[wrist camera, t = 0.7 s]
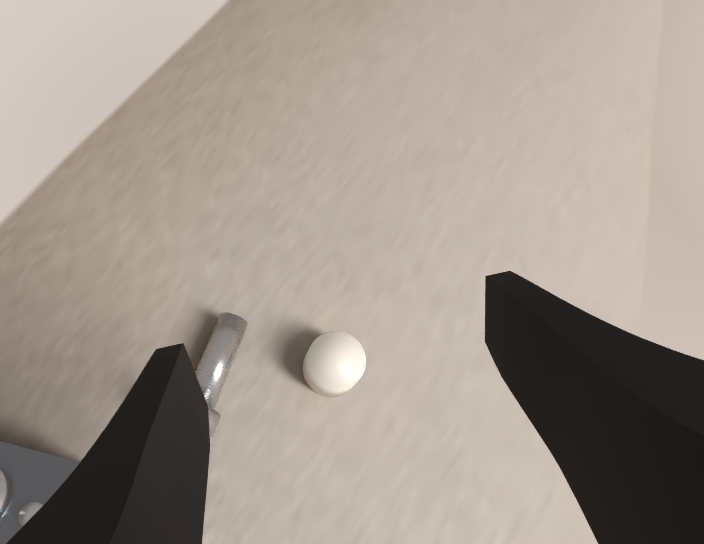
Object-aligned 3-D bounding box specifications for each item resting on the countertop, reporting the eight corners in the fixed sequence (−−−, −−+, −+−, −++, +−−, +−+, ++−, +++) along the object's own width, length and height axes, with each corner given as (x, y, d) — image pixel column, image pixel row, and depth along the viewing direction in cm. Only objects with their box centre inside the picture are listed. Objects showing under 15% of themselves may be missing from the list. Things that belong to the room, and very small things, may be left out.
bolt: (213, 440, 28) (212, 430, 25) (164, 424, 27) (159, 413, 25) (255, 332, 31) (258, 315, 28) (211, 317, 30) (210, 299, 28)
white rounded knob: (349, 405, 30) (357, 396, 28) (294, 386, 30) (299, 377, 28) (363, 353, 32) (372, 342, 30) (311, 335, 31) (317, 323, 30)
